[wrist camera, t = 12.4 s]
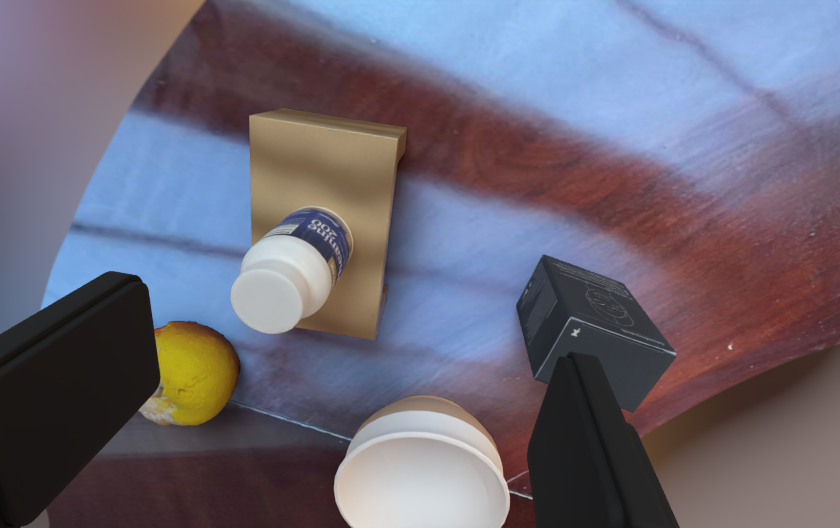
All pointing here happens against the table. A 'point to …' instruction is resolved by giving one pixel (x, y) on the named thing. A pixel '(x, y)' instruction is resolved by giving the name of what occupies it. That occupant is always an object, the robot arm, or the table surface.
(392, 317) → the table surface
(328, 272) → the pill bottle
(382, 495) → the bowl
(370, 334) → the shelf
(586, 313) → the box
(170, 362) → the fruit
